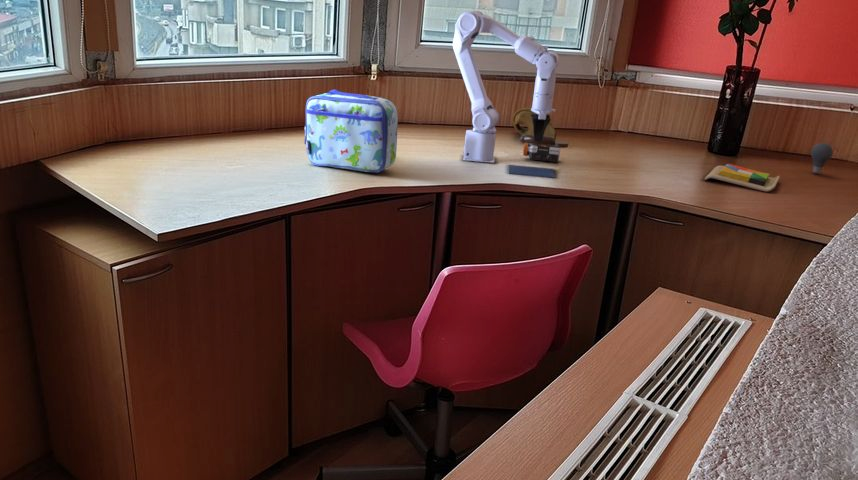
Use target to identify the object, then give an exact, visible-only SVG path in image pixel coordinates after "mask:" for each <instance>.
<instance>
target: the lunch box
mask: <svg viewBox="0 0 858 480" xmlns="http://www.w3.org/2000/svg"><path fill="white" fill-rule="evenodd" d="M398 117H399V116H398V111H397V107H396V105H395V103H393V102H392V101H391V100H389V99H387V98H383V97H379V96H373V95H367V94H360V93H359V94H358V93H351V92H350V93H349V92H344V91H339V90H337V89H332V90H329V92H325V93H322V94H318V95H313V96H312V95H311V96H310V97H309V98H308V99H307V101H306V104H305V125H304V127H303V128H304V145H305V150H306V155H307V157H308V159H309V161H310V163H311V164H312V165H313V166H320V167H330V168H336V169H341V170H349V171H358V172H365V173H376V174H377V173H381V172H383V170H384V169H387V168H390V167H392V166H393V165H394V164H395V162H396V158H397V146H398V122H399V118H398Z"/></svg>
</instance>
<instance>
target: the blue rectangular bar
mask: <svg viewBox="0 0 858 480" xmlns="http://www.w3.org/2000/svg"><path fill="white" fill-rule="evenodd" d="M508 174H509V175H519V176H529V177H530V176H531V177H541V178H551V179H555V178H556V177H555V173H554V169H553V168H548V167H537V166H527V165H526V166H525V165H515V164H509V165H508Z"/></svg>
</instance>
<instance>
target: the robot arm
mask: <svg viewBox="0 0 858 480" xmlns="http://www.w3.org/2000/svg"><path fill="white" fill-rule="evenodd" d="M454 27H455V30H454V36H453V40H452V49H453V52H454V56H455V59H456V62H457V64H458V68H459V70H460V74H461V76H462V79H463V82H464V85H465V88H466V91H467V94H468V97H469V100H470V103H471V107H470V109H471V110H470V111H471V114H472V119H471V121H472V122H471V123H472V126H473V127H472V129H466V131H465V138H464V147H463V148H462V149H463V151H462V154H463V159H462V160H463V161H465V162H466V161H468V162H480V163H490V164H494V163H495V159H496V158H495V156H494V155H495V148H496V139H497V129H496V125H497V124H498V122H499V120H500V115H499V112H498V110H496V108H494V105H493V103H492V101H491V99H490V98H489V97H488V95H487V91H486V88H485V86H484V83H483V79H482V76H481V73H480V70H479V67H478V65H477V61H476V58H475V56H474V52H473V50H472V45H473V43H474V41H475V40H476V38H477V36H478V35H479V34H492V35H493V36H495V37H497V38H498V39H500V40H502V41H503V42H506V44H509V45H510V46H512V47H513V48H514V53H515V54H516V55H517V56H519V57H521V58H522V59H524V60H525V61H527V62H528V63H530V64H532V65H535V67H536V68H537V71H536V76H535V82H534V88H533V89H534V91H533V95H532V97H533V98H532V105H531V107H530V108H531V111H533V112H535V113H536V114H531V118H532V121H533V135H534V140H535V141H541V140H542V138H543V135H544V132H545V129H546V127H547V125H548V123H549V122H551V120H552V119H551V115H550V114H552V113H556V109H555V108H553V102H554V94H555V87H556V81H557V80H556V79H557V78H556V75H557V68H558V66H559V64H560V56H559V54H557V53H556V52H555V50H553V49H549V47H548V46H547V45H542V43H539V42H538V41H536V40H535V37H534V36H533V35H529V36H528V35H522V36H520V35H518V34H517V33H515V32H514V31H512V30H511V29H509V27H507V26H505V25H504V24H502V23H501V22H499V21H498V20H497V19H495V18H493V17H492V16H490V15H487V14H484V13H483V12H482V11H480V10H472V11H470V10H467V11H464V12H462V13H461V14H460V16H459V17H458V19H457V21H456V22H455V24H454ZM548 114H549V115H548Z"/></svg>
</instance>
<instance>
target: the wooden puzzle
mask: <svg viewBox="0 0 858 480" xmlns="http://www.w3.org/2000/svg"><path fill="white" fill-rule="evenodd" d="M780 178H781V176H780V175H777V176H775V177H772V176H771V177H770V173H766V172H762V171H759V170H755V169H750V168H746V167H744V166H739V165H735V164H732V163H726V164H725V165H717V166H715V167H714V168H713V169H712V170H711V171H710V172H709V173H708V174H707V175H706V176H705V177H704V180H705V181H707V180H709V179H714V180H719V181H722V182H726V183H730V184H734V185H737V186H742V187H745V188H750V189H754V190H757V191H761V192H765V193H766V192H768V193H769V192H771V191H773V190H775V189H776V186H777V184H778V182H779V180H780Z"/></svg>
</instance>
